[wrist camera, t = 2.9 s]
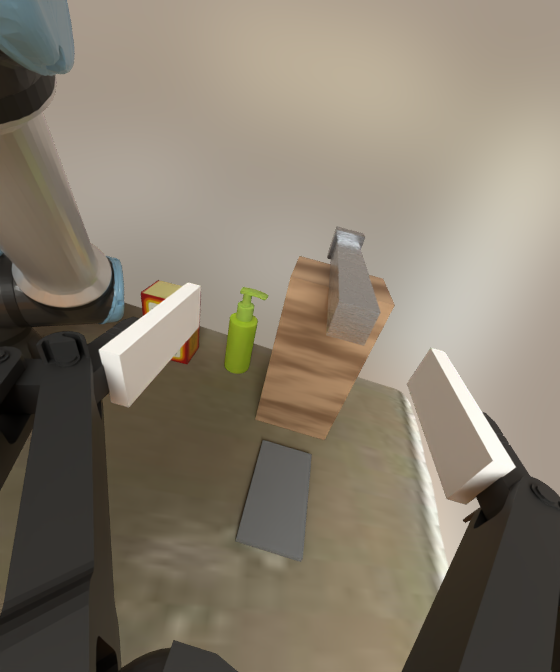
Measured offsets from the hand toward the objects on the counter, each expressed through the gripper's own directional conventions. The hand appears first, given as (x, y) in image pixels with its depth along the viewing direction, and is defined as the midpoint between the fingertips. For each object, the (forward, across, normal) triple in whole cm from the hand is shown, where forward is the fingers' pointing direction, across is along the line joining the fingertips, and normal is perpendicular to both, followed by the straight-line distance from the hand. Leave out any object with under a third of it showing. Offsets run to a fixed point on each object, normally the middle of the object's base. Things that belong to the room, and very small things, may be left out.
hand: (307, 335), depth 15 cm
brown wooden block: (+25, +4, -34) cm, 43 cm away
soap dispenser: (+34, -11, -34) cm, 49 cm away
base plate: (+8, +4, -34) cm, 36 cm away
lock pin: (+22, +4, -4) cm, 23 cm away
